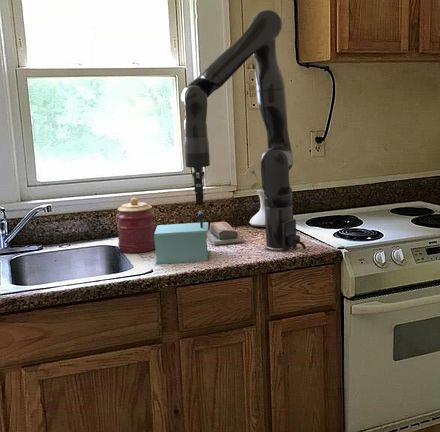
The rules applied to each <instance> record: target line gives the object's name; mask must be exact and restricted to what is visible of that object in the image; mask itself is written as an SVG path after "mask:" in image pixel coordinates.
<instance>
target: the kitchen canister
mask: <svg viewBox="0 0 440 432" xmlns="http://www.w3.org/2000/svg"><path fill="white" fill-rule="evenodd" d="M152 208H153V206H152V205H151V204H149V203H147V202H142V201H139V199H138V198H137V197H131V198H130V202H128V203H124V204H121V206H120V207H118V208H117V211H118V213H117V214H116V215H115V218H116V219H117V224H116V228H117V229H116V230H117V241H118V243H117V245H118V249H119V251H120V252H121V253H126V254H127V253H128V254H137V253H145V252H149V251H153V250H155V237H154V233H155V230H156V228H157V226H156V224H157V222H156V221H155V218H154V216H156V212H154V211H153V210H152Z"/></svg>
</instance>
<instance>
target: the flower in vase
mask: <svg viewBox="0 0 440 432" xmlns="http://www.w3.org/2000/svg"><path fill="white" fill-rule="evenodd" d="M259 167H260V165H259V163H258V162H257V161H254V163H253V162H252V163H251V164H250V165H249V167H247V168H246V172H245V173H244V174H243V177H244V179H245V180H247V181H250V180H252V179H253V178H254V177H255V178H256V181H257V182H254V183H252V185H251V186H250V189H252V190H255V189H257V187H258V186H259V188H260V189H257V190H255V191H256V193H257V195H258V197H259V203H260V208H259V210H258V212H256V213H255V214H254V215H253V216H252V217H251V219H250V220H249V224H250V225H251V226H253V227H259V228H266V226H265V203H264V191H263V188H262V182H260V181H259V178H258V176H257V173H258V171H259Z"/></svg>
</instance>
